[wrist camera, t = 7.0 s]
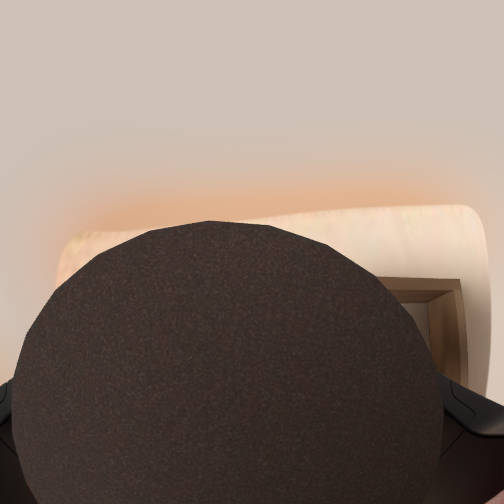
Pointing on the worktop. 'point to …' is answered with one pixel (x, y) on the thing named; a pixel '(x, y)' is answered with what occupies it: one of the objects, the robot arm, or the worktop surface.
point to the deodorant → (225, 378)
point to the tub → (439, 320)
